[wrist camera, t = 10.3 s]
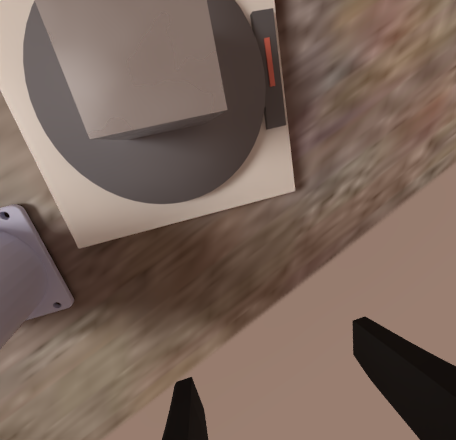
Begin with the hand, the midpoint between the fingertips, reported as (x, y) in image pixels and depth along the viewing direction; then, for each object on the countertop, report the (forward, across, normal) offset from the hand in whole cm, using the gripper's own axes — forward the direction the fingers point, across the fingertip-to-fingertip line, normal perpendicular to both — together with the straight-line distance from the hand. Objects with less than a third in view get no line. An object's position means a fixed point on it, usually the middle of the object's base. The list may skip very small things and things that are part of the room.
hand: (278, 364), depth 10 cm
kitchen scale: (+10, +2, -12) cm, 16 cm away
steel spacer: (+7, +2, -12) cm, 14 cm away
